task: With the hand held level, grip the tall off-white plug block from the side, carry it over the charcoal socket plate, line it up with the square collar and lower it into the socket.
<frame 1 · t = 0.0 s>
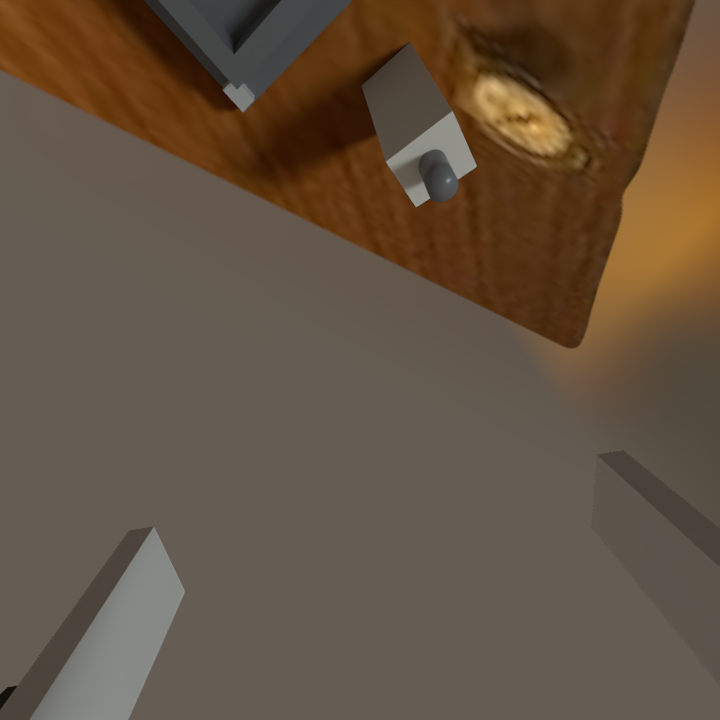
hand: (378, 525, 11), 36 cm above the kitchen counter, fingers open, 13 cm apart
plug: (398, 89, 33), on the kitchen counter
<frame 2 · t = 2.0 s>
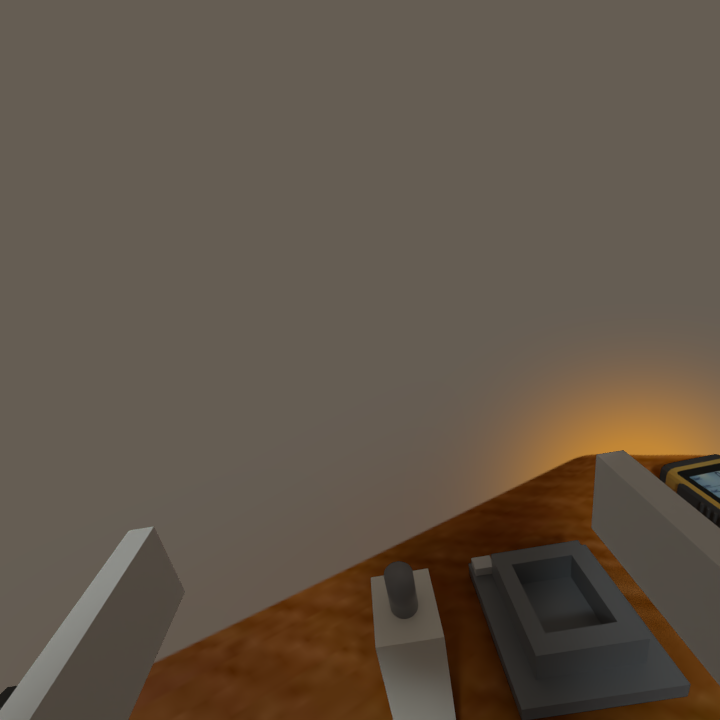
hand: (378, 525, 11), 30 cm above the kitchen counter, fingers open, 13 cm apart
socket: (558, 623, 35), on the kitchen counter
plug: (424, 711, 30), on the kitchen counter
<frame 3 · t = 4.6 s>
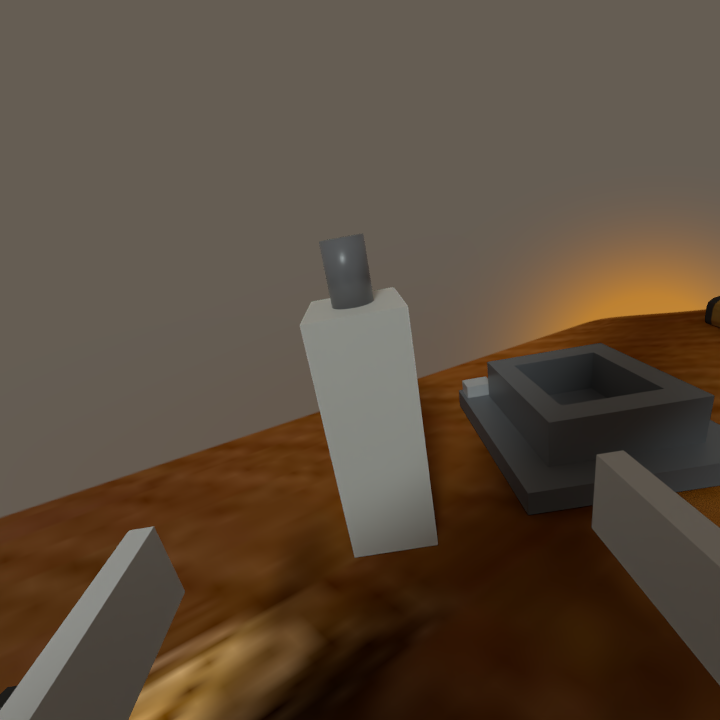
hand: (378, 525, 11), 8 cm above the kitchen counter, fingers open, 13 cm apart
socket: (576, 432, 26), on the kitchen counter
plug: (391, 516, 22), on the kitchen counter
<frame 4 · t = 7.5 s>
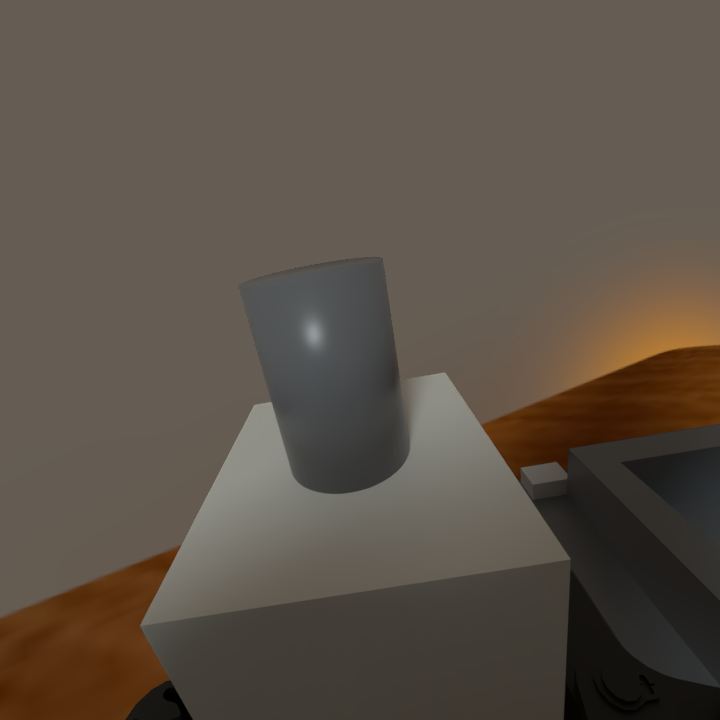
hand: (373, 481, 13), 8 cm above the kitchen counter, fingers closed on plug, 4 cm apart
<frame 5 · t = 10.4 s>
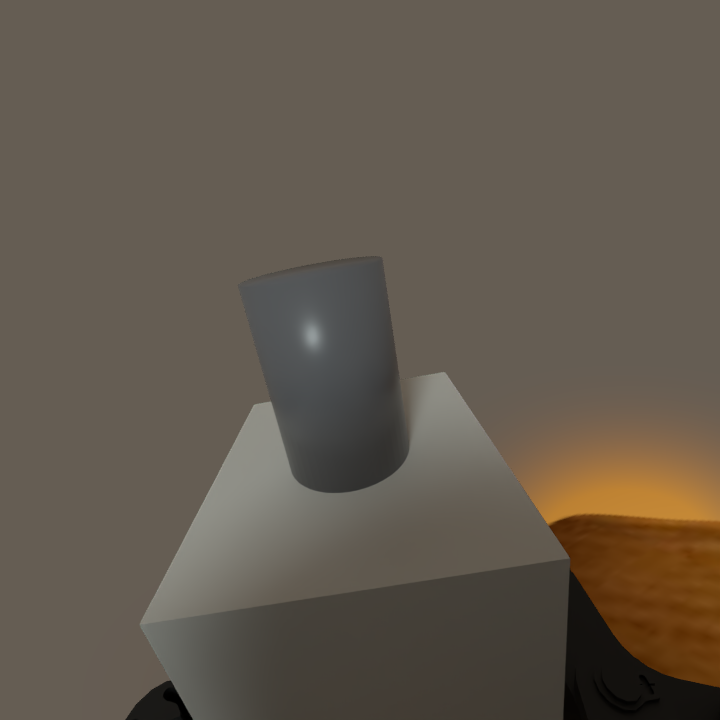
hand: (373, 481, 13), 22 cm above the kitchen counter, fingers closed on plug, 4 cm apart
when the fingers open (10 cm above the kitchen counter, at t = 13.6 s): plug stays where it is, resting on socket.
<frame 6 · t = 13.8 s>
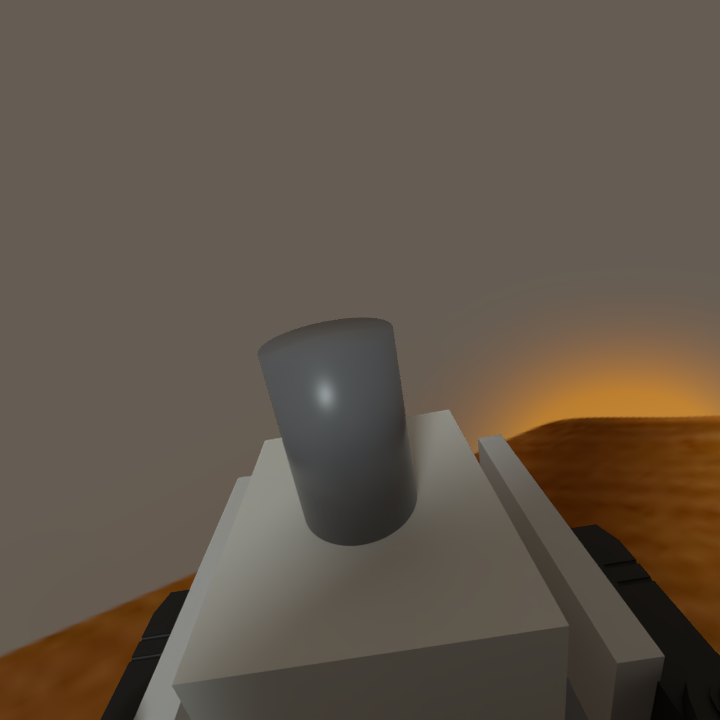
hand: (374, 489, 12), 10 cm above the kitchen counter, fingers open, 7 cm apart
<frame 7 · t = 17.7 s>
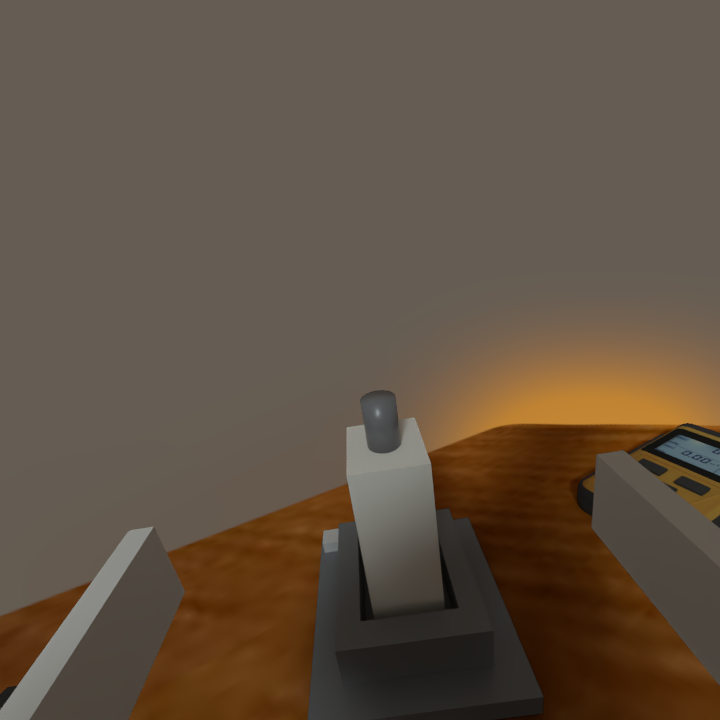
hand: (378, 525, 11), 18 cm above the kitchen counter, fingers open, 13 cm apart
socket: (408, 612, 26), on the kitchen counter
electronic device: (676, 500, 33), on the kitchen counter
plug: (406, 598, 26), point 1 cm above the kitchen counter, touching socket
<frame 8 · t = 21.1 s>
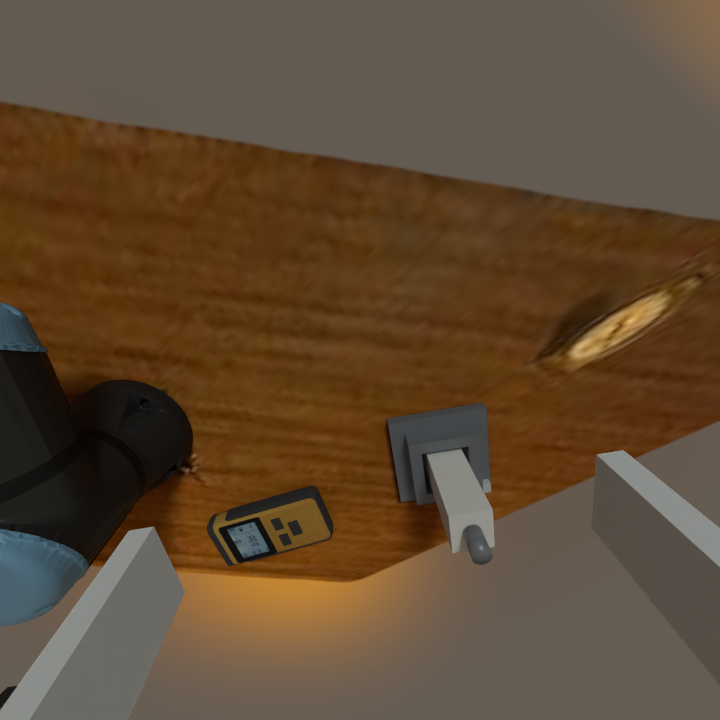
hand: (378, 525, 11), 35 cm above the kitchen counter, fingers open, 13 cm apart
socket: (438, 451, 51), on the kitchen counter
electronic device: (274, 516, 55), on the kitchen counter
plug: (441, 457, 50), point 1 cm above the kitchen counter, touching socket
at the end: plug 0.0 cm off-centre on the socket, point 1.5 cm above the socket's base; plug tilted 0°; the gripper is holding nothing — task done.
